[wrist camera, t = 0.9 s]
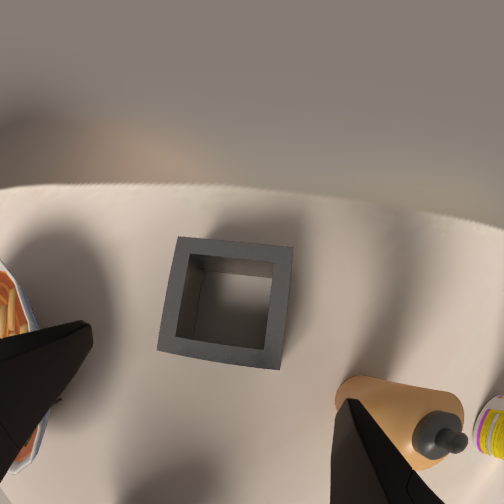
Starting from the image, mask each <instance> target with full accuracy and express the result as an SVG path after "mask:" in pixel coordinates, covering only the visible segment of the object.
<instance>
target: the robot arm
mask: <svg viewBox="0 0 504 504" xmlns="http://www.w3.org/2000/svg"><path fill="white" fill-rule="evenodd" d="M92 346H93V336H92V328H91V325H90V324H89V323H87V322H85V321H83V320H79V321H74V322H70V323H66V324H62V325H57V326H53V327H49V328H44V329H40V330H36V331H31V332H27V333H22V334H18V335H13V336H8V337H4V338H2V339H1V338H0V483H1V481H2V479H3V478H4V476H5V474H6V473H7V471H8V470H9V468H10V466H11V465H12V463H13V462H14V460H15V459H16V457H17V456H18V454H19V453H20V451H21V449H22V448H23V446H24V445H25V443H26V442H27V440H28V439H29V437H30V436H31V435H32V433H33V432H34V430H35V429H36V427H37V426H38V425H39V423H40V422H41V420H42V419H43V418H44V416H45V415H46V413H47V412H48V411H49V409H50V408H51V406H52V405H53V404H54V402H55V401H56V400H57V398H58V397H59V396H60V394H61V393H62V392H63V390H64V389H65V388H66V386H67V385H68V384H69V383H70V381H71V380H72V378H73V377H74V376H75V374H76V373H77V371H78V369H79V368H80V366H81V364H82V363H83V361H84V360H85V358H86V356H87V355H88V353H89V352H90V350H91V348H92ZM330 504H445V503H444V502H443V501H442V500H441V499H440V498H439V497H438V496H437V495H436V494H435V493H434V492H433V491H432V490H431V489H430V488H429V487H428V486H427V485H426V484H425V482H424V481H423V480H422V479H421V478H420V476H419V475H418V474H417V473H416V471H415V470H414V469H413V470H412V467H411V465H410V464H409V463H408V461H407V460H406V459H405V458H404V456H403V455H402V454H401V453H400V451H399V450H398V449H397V448H396V446H395V445H394V444H393V442H392V441H391V440H390V439H389V437H388V436H387V435H386V434H385V432H384V431H383V430H382V428H381V427H380V426H379V425H378V423H377V422H376V421H375V420H374V418H373V417H372V416H371V414H370V413H369V412H368V411H367V409H366V408H365V407H364V406H363V404H362V403H361V402H360V400H358V399H354V398H346V399H345V400H344V402H343V404H342V405H341V407H340V409H339V411H338V412H337V414H336V417H335V425H334V434H333V443H332V452H331V487H330Z"/></svg>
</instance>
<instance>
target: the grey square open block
mask: <svg viewBox="0 0 504 504" xmlns="http://www.w3.org/2000/svg"><path fill="white" fill-rule="evenodd" d="M292 254H293V247H284V246H273V245H263V244H253V243H243V242H233V241H222V240H212V239H201V238H190V237H179V236H178V239H177V243H176V248H175V253H174V257H173V262H172V267H171V271H170V276H169V281H168V287H167V292H166V297H165V303H164V308H163V314H162V320H161V326H160V332H159V338H158V345H157V350H158V351H163V352H167V353H172V354H177V355H181V356H186V357H192V358H197V359H202V360H208V361H214V362H220V363H226V364H233V365H240V366H248V367H255V368H264V369H273V370H280V366H281V358H282V350H283V342H284V333H285V325H286V316H287V306H288V297H289V287H290V276H291V265H292ZM204 271H213V272H222V273H230V274H239V275H248V276H257V277H267V278H272V286H271V295H270V303H269V312H268V320H267V328H266V336H265V344H264V350H261V349H252V348H245V347H237V346H230V345H223V344H217V343H210V342H204V341H198V340H193V333H194V326H195V320H196V313H197V307H198V301H199V295H200V289H201V283H202V278H203V272H204Z"/></svg>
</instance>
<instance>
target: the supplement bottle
mask: <svg viewBox="0 0 504 504" xmlns="http://www.w3.org/2000/svg"><path fill="white" fill-rule="evenodd" d="M473 443H474V446H475V448H476V449H477V450H478V451H479V452H482V453H485V454H488V455H491V456H494V457H497V458H500V459H504V394H502V395H498V396H496V397H494V398H492V399H491V400H490V401H489V402H488V403H487V404H486V405H485V406H484V408H483V409H482V411H481V412H480V414H479V416H478V418H477V421H476V423H475V426H474V431H473Z"/></svg>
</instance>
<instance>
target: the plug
mask: <svg viewBox="0 0 504 504" xmlns="http://www.w3.org/2000/svg"><path fill="white" fill-rule="evenodd" d="M346 398H354V399H358V400H360V402H361V403H362V404H363V406H364V407H365V408H366V409H367V411H368V412H369V413H370V414H371V416H372V417H373V418H374V420H375V421H376V422H377V423H378V425H379V426H380V427H381V428H382V430H383V431H384V432H385V434H386V435H387V436H388V437H389V439H390V440H391V441H392V442H393V444H394V445H395V446H396V448H397V449H398V450H399V451H400V453H401V454H402V455H403V456H404V458H405V459H406V460H407V461H408V463H409V464H410V465H411V467H412V470H413V469H414V470H415V471H419V470H424V469H427V468H430V467H432V466H434V465H436V464H437V463H439V462H440V461H441V460H443V459H444V458H445V457H446V456H447V455H448V454H449V453H453V454H457V453H460V452H462V451H463V450H464V449H465V448H466V446H467V444H468V437H467V435H466V434H464V433H462V428H463V424H464V410H463V406H462V404H461V402H460V400H459V399H458V398H457V397H456V396H455V395H454V394H452V393H449V392H445V391H439V390H432V389H427V388H421V387H416V386H410V385H405V384H400V383H395V382H391V381H386V380H382V379H377V378H373V377H368V376H364V375H358V376H354V377H351V378H349V379H347V380H346V381H345V382H344V383H343V384H342V385H341V386H340V387H339V389H338V391H337V393H336V397H335V405H336V409H337V411H339V409H340V407H341V405H342V404H343V402H344V400H345V399H346Z"/></svg>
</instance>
